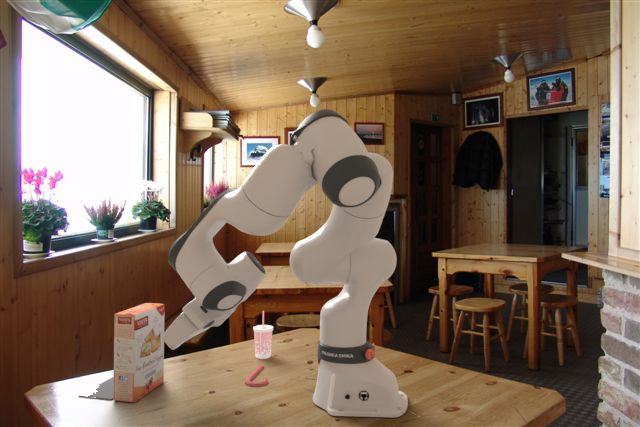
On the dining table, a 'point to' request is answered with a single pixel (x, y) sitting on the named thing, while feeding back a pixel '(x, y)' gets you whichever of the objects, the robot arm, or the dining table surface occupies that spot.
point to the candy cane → (253, 375)
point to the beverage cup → (263, 340)
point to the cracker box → (138, 351)
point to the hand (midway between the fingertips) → (173, 346)
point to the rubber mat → (105, 390)
